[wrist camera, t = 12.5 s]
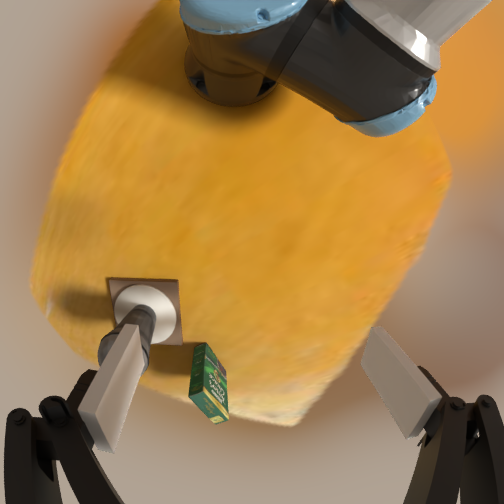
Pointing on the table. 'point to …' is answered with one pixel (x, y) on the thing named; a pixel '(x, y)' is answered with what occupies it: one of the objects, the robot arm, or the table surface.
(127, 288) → the mount
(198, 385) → the coffee box
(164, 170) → the table surface
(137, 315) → the beverage cup
